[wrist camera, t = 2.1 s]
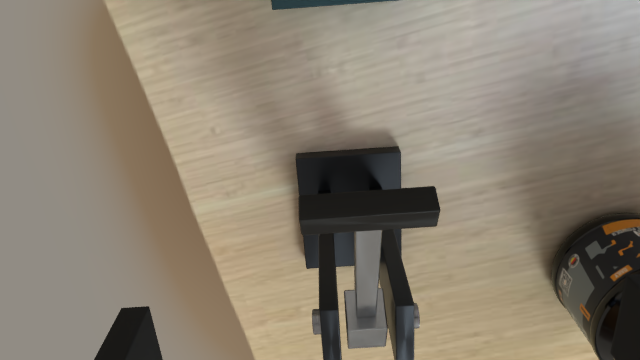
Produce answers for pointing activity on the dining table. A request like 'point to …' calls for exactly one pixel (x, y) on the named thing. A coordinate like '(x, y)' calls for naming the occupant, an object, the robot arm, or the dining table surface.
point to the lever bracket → (338, 248)
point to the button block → (315, 3)
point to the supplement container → (597, 275)
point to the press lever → (367, 245)
